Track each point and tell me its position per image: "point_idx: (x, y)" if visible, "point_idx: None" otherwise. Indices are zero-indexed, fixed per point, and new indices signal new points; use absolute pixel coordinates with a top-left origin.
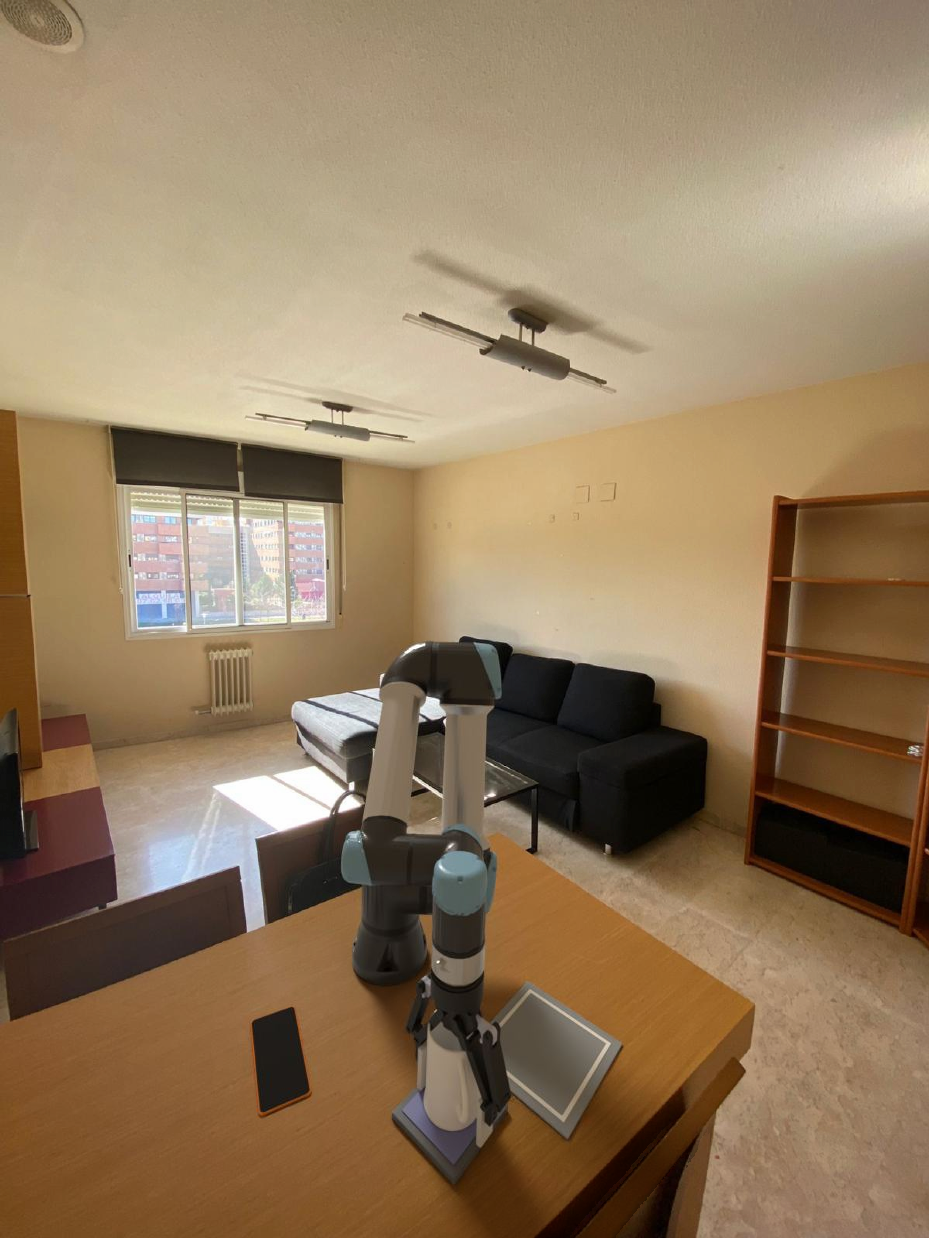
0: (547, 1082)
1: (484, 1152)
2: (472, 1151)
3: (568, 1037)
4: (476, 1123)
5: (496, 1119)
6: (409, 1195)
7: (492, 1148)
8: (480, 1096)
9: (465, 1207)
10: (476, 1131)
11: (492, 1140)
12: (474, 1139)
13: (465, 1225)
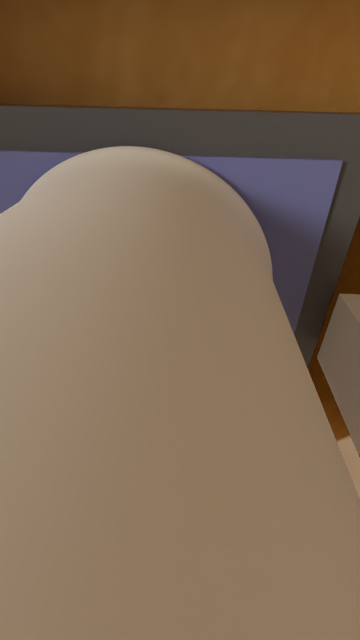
0: None
1: (331, 310)
2: (305, 358)
3: None
4: (279, 297)
5: (353, 224)
6: None
7: (354, 286)
8: (257, 236)
9: (332, 416)
10: (293, 317)
11: (345, 266)
12: (295, 332)
13: (346, 434)
